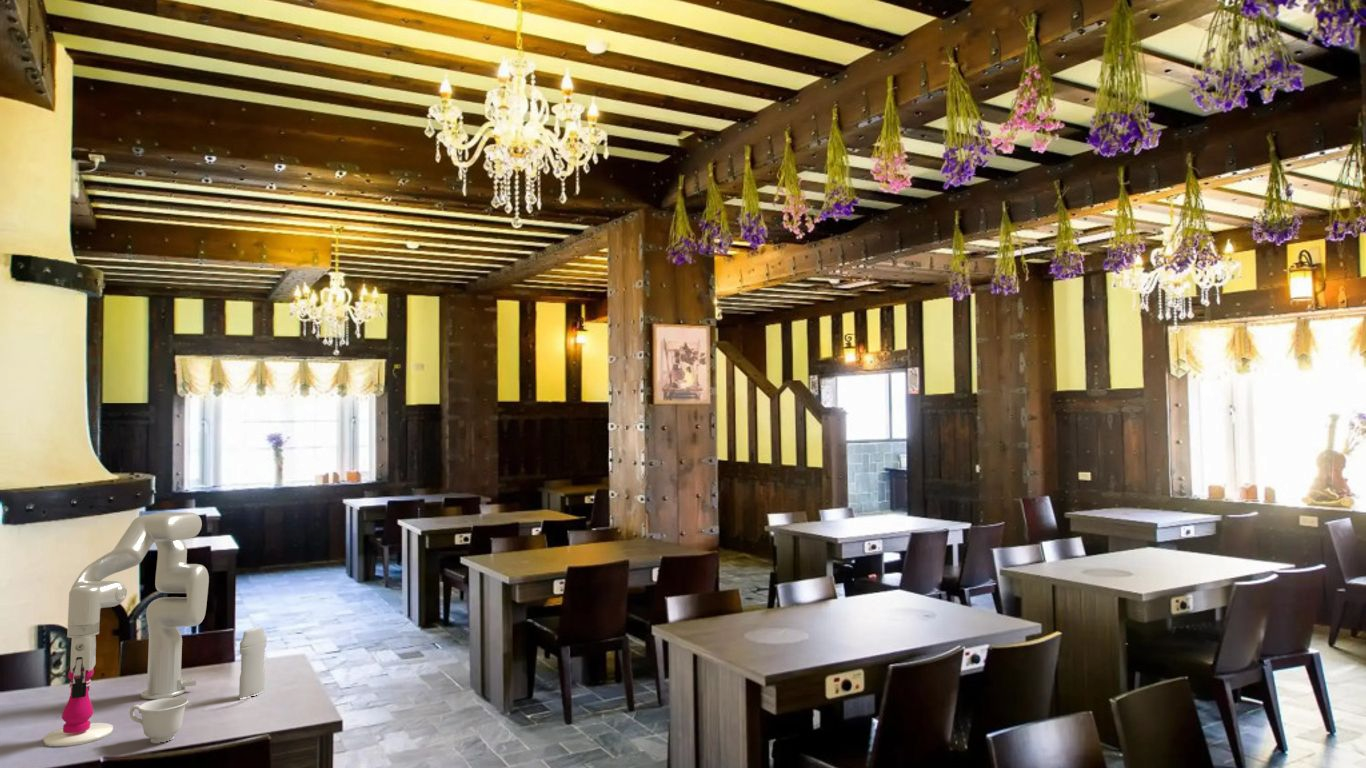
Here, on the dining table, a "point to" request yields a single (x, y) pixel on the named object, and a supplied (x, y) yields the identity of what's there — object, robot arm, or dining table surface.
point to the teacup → (161, 717)
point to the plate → (79, 735)
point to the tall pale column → (252, 662)
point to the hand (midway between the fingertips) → (80, 693)
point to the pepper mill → (78, 708)
